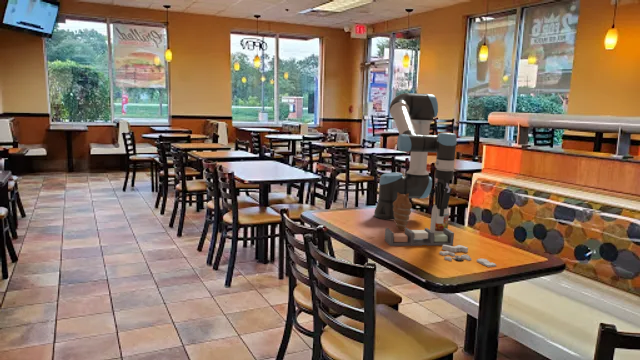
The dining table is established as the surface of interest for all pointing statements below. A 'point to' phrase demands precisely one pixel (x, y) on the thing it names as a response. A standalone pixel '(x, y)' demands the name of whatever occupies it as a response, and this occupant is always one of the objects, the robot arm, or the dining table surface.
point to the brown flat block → (400, 237)
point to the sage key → (440, 237)
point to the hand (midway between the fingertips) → (439, 223)
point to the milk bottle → (434, 226)
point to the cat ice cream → (402, 210)
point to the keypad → (418, 242)
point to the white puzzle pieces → (458, 258)
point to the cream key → (420, 234)
